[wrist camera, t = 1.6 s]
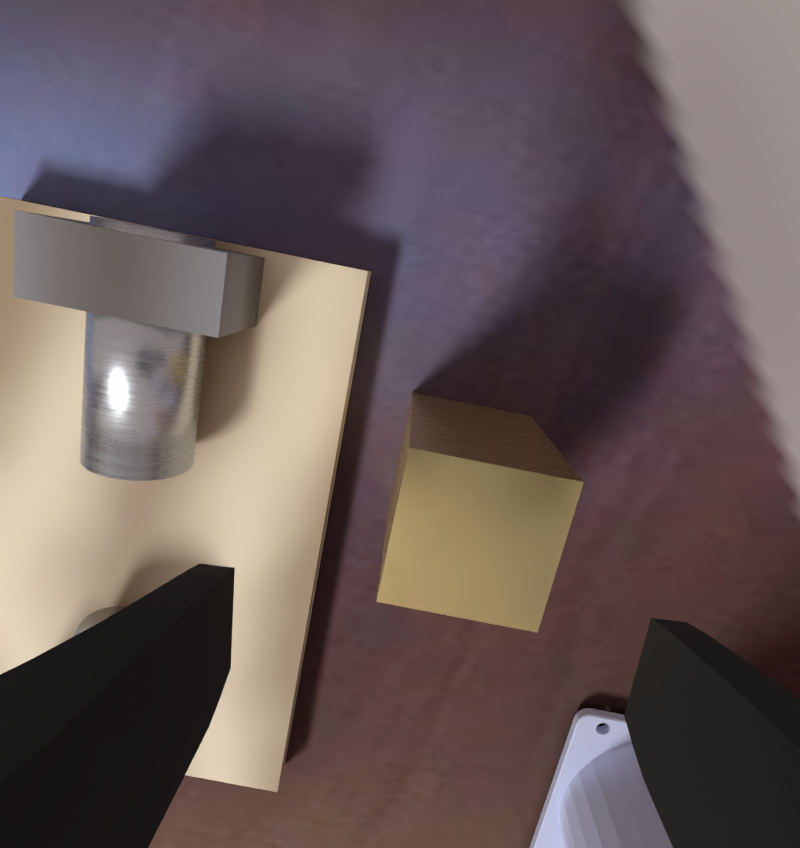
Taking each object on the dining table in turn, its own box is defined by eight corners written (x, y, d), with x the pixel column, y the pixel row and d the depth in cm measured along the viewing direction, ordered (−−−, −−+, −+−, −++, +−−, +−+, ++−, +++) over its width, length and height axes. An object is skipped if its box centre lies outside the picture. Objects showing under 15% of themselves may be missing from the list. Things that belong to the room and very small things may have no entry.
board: (371, 271, 17) (355, 270, 13) (284, 765, 22) (252, 881, 18) (19, 199, 17) (-116, 174, 13) (14, 714, 22) (-83, 819, 18)
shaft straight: (128, 222, 16) (62, 210, 13) (231, 243, 16) (189, 236, 13) (115, 435, 17) (55, 467, 15) (208, 453, 17) (167, 488, 15)
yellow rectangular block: (531, 415, 18) (583, 482, 12) (501, 524, 19) (537, 632, 13) (412, 392, 18) (409, 447, 12) (389, 502, 19) (376, 601, 13)
